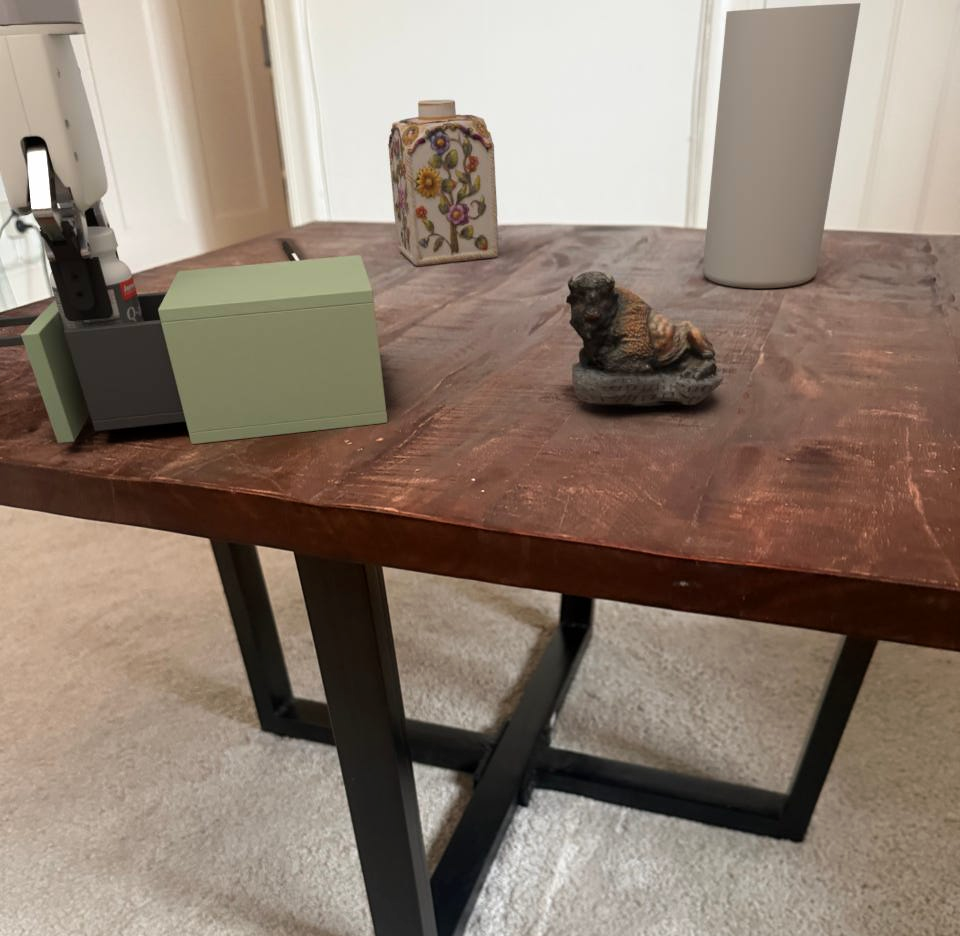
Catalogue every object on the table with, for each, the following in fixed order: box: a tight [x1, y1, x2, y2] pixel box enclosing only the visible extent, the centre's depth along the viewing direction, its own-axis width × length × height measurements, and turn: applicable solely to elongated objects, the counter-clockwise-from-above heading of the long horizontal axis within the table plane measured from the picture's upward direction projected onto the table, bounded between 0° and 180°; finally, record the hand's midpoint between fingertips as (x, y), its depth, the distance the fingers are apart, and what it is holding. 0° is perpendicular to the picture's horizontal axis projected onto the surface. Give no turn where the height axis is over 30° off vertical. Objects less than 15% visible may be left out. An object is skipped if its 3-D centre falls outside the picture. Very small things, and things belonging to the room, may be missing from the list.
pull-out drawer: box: [0, 291, 186, 444], centre depth 67 cm, size 19×12×8 cm, turn 100°
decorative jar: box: [387, 99, 499, 267], centre depth 113 cm, size 12×12×18 cm
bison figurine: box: [565, 270, 724, 408], centre depth 64 cm, size 12×7×10 cm, turn 97°
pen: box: [281, 240, 300, 261], centre depth 121 cm, size 1×19×1 cm, turn 17°
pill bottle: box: [49, 227, 144, 330], centre depth 65 cm, size 6×6×10 cm
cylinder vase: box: [702, 2, 861, 289], centre depth 92 cm, size 12×12×25 cm
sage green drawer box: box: [158, 254, 388, 445], centre depth 69 cm, size 15×13×10 cm
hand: (98, 305), depth 65 cm, fingers closed on pill bottle, 5 cm apart
